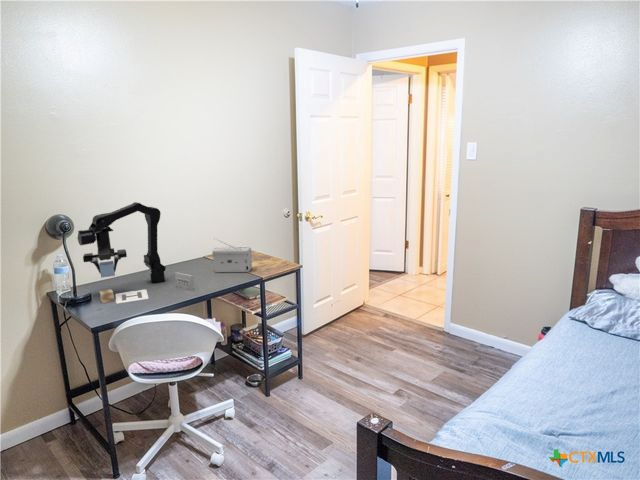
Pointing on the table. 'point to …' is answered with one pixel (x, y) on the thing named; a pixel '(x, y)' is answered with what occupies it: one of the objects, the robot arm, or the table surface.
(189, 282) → the cassette
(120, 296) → the letter plate
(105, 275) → the slate-blue cube
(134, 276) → the table surface
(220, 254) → the stereo radio cassette player
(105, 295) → the oak block
